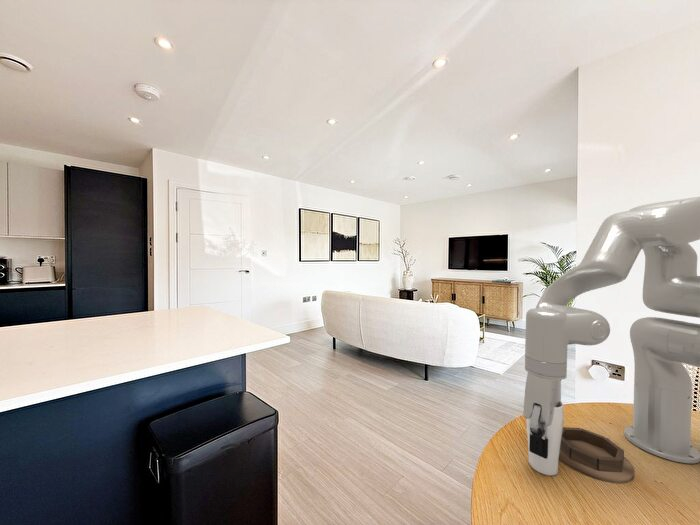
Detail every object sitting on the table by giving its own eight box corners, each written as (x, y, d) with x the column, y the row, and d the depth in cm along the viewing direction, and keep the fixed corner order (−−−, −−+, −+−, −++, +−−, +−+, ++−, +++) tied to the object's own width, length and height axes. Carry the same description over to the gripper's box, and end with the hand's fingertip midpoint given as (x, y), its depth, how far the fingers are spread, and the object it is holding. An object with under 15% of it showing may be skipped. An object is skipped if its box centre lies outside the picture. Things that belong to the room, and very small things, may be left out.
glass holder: (557, 429, 76) (557, 416, 76) (636, 459, 64) (637, 444, 64) (540, 454, 66) (541, 440, 66) (631, 495, 54) (631, 478, 54)
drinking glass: (569, 482, 57) (570, 409, 57) (532, 476, 59) (534, 405, 59) (552, 459, 64) (553, 394, 64) (519, 454, 65) (521, 391, 65)
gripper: (537, 353, 70) (535, 424, 70) (511, 370, 58) (510, 456, 58) (575, 361, 64) (573, 439, 64) (555, 383, 53) (553, 477, 53)
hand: (543, 446), depth 61 cm, fingers closed on drinking glass, 6 cm apart
